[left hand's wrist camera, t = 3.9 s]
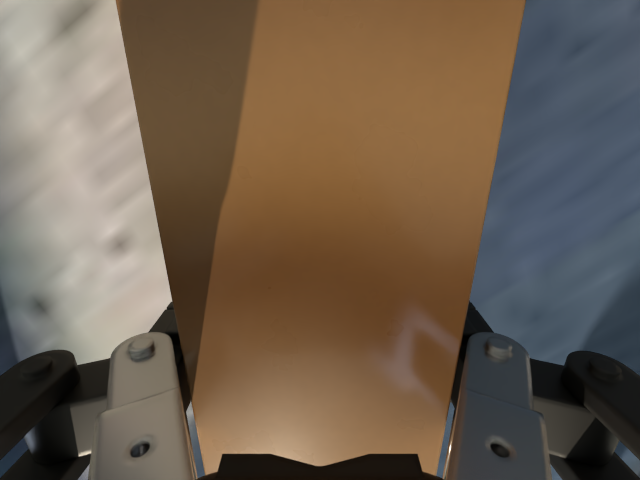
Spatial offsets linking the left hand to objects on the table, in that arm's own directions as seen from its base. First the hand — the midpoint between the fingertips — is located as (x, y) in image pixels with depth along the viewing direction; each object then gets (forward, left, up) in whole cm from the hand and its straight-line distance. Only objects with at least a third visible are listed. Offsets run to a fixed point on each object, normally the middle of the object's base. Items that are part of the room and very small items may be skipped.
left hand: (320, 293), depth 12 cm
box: (-4, +6, -6) cm, 10 cm away
